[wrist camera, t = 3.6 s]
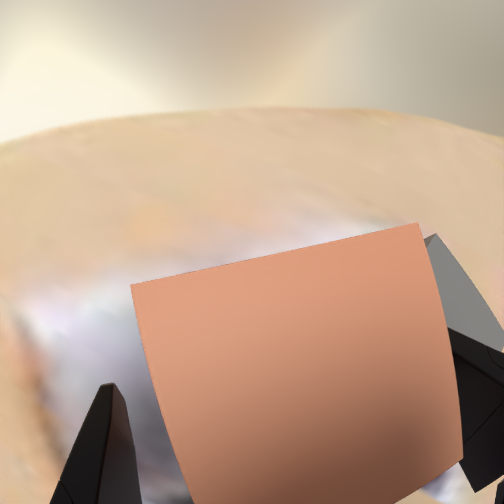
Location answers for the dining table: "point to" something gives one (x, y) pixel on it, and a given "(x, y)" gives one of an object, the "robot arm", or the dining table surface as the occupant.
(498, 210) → the dining table surface
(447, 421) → the carton
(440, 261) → the podium
